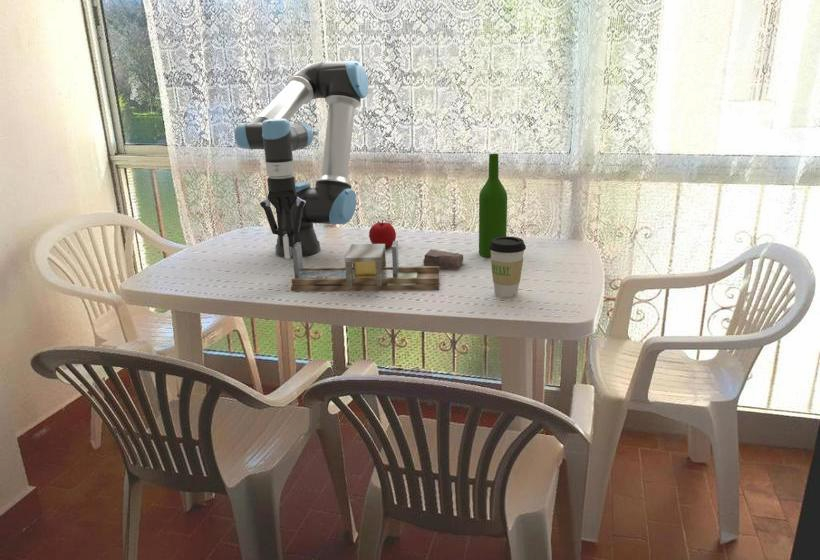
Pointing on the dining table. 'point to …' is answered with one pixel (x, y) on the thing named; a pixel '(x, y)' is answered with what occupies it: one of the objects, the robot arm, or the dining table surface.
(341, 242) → the dining table surface
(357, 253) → the tunnel board
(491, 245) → the coffee cup
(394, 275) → the grey u-shaped piece
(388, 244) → the apple
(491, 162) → the wine bottle
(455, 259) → the stone
